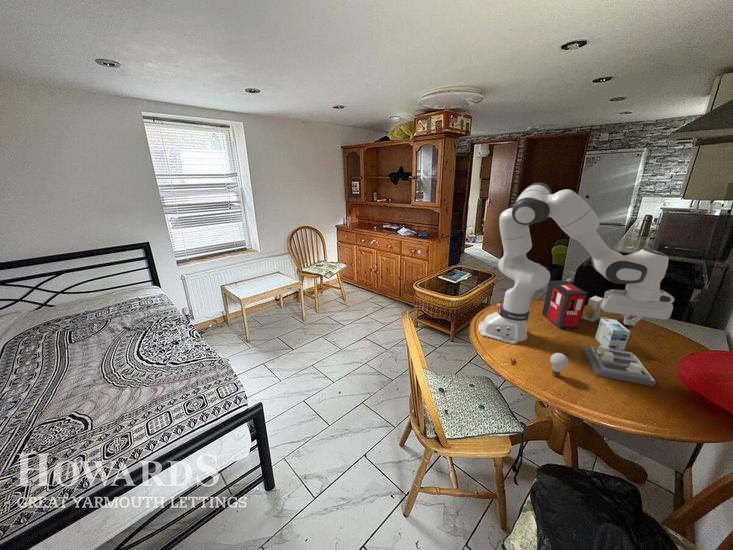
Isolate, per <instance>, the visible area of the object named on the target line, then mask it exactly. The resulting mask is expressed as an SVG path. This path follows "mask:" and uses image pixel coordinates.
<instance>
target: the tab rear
mask: <svg viewBox="0 0 733 550" xmlns="http://www.w3.org/2000/svg"><path fill="white" fill-rule="evenodd" d="M598 347H599V348H598V350H596V353H600V354H603V352H604V351H605V352H609V350H610V349H609V347H608V346H605V345H601V344H599V346H598Z"/></svg>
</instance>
